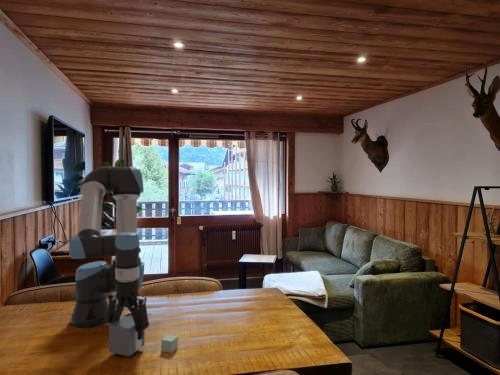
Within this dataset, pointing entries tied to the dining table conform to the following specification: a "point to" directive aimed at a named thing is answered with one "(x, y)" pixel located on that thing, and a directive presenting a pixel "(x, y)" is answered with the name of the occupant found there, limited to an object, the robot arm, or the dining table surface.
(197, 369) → the dining table surface
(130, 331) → the grey matte cube
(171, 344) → the block
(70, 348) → the dining table surface
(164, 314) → the dining table surface
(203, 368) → the dining table surface
